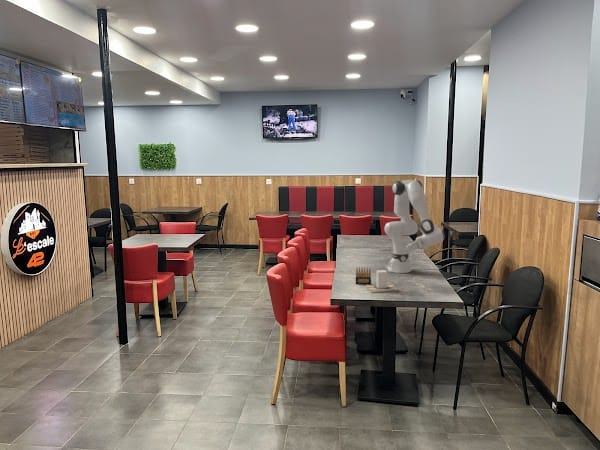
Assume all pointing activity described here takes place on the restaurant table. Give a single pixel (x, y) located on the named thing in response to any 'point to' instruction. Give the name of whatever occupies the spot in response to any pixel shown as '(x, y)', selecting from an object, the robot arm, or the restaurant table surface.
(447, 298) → the restaurant table surface
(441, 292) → the restaurant table surface
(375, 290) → the header board
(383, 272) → the block
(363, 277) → the ammunition clip
